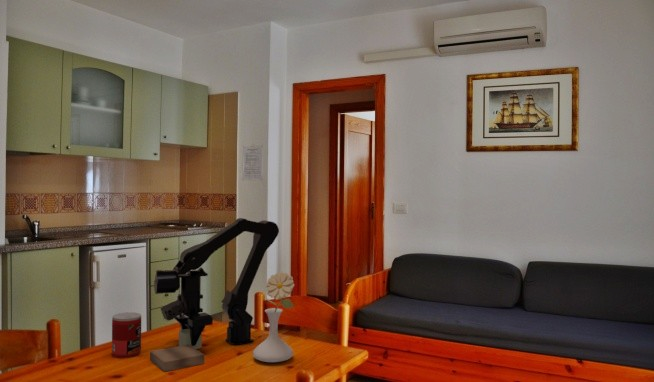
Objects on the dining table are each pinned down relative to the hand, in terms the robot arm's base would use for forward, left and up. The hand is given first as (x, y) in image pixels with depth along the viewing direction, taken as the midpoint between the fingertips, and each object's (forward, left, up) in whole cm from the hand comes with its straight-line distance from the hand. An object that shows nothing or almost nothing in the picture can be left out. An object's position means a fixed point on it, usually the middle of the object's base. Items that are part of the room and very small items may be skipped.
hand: (189, 343), depth 154 cm
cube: (0, 0, -1) cm, 1 cm away
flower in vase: (-15, +24, -1) cm, 28 cm away
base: (+8, +10, -1) cm, 13 cm away
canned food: (+17, -5, -2) cm, 18 cm away
